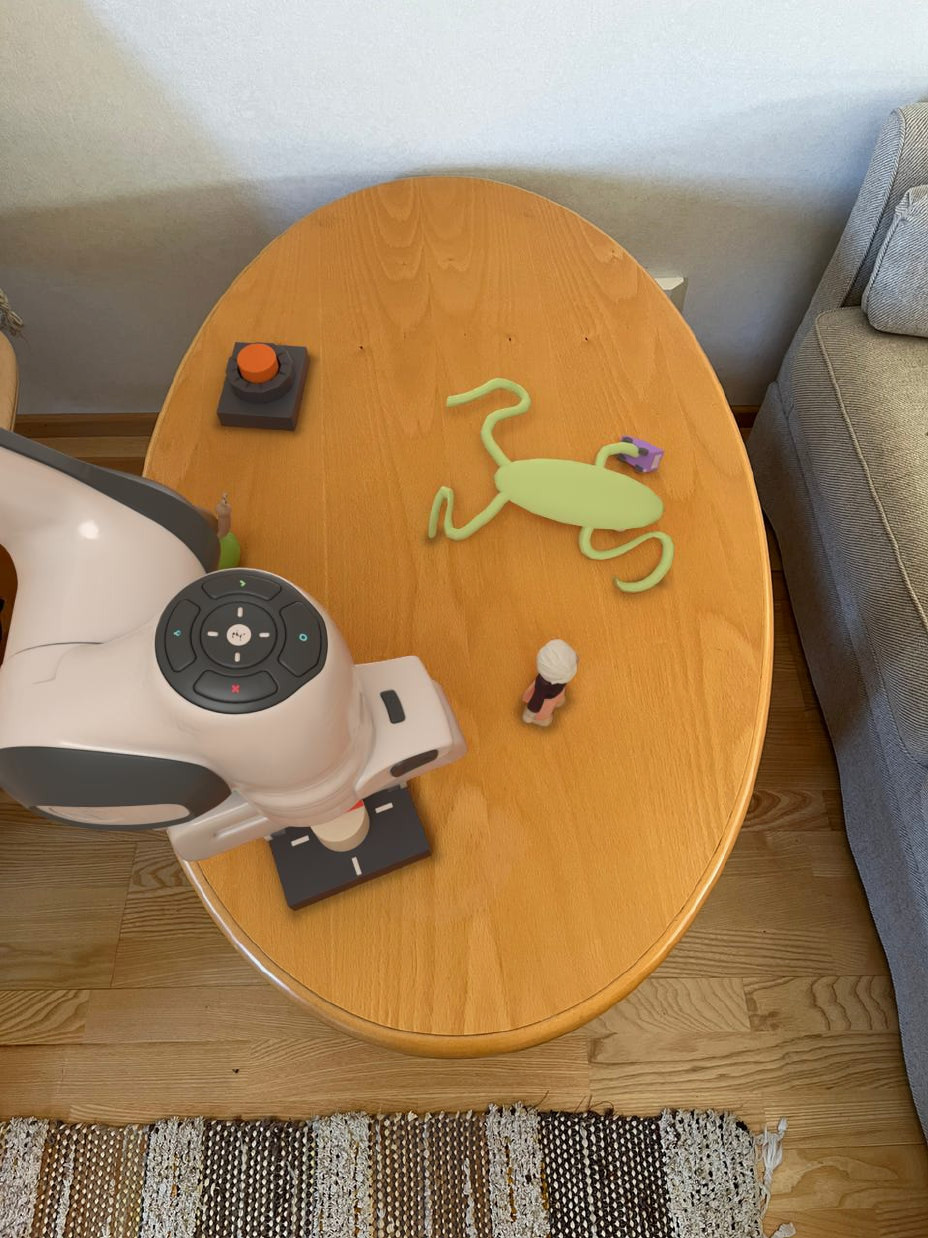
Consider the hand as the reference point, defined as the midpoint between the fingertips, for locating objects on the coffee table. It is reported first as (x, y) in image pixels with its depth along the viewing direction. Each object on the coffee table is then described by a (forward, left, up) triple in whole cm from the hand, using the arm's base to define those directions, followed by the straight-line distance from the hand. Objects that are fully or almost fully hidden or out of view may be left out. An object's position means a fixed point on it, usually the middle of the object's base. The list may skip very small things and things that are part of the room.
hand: (335, 803), depth 62 cm
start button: (+7, +49, -6) cm, 50 cm away
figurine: (+30, +25, -10) cm, 40 cm away
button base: (+7, +49, -10) cm, 51 cm away
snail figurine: (-3, +29, -10) cm, 31 cm away
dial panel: (0, 0, -10) cm, 10 cm away
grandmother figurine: (+20, +4, -10) cm, 23 cm away
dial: (0, 0, -7) cm, 7 cm away
